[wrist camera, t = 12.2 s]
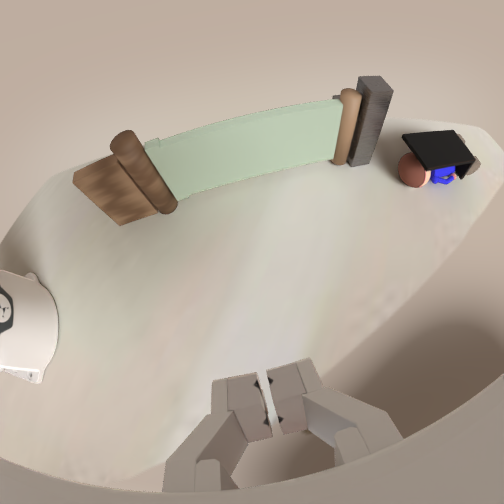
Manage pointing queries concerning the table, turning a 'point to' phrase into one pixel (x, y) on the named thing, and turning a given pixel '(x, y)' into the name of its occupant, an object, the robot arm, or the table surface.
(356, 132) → the latch post
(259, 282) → the table surface
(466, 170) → the figurine character
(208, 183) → the gate
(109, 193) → the wooden hinge block
